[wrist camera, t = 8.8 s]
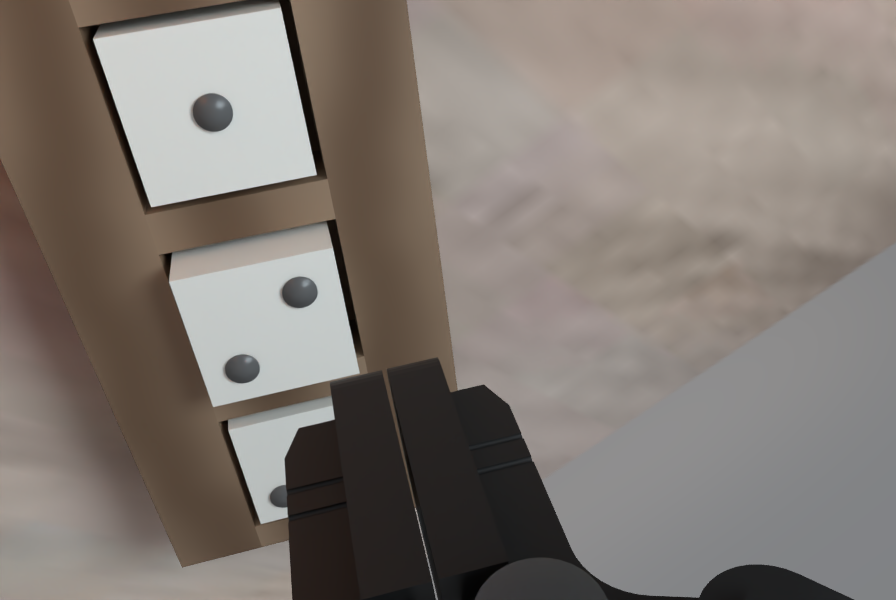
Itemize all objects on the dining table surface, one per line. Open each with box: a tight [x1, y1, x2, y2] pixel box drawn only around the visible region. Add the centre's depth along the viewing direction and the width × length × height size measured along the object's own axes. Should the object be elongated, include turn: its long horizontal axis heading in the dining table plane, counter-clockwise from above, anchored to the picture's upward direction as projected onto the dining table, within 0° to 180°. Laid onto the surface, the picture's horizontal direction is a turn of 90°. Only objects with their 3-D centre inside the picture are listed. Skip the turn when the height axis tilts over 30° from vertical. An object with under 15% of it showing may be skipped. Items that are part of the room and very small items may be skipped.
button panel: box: [0, 0, 458, 567], centre depth 29 cm, size 12×22×4 cm, turn 7°
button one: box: [93, 0, 317, 207], centre depth 24 cm, size 5×5×3 cm
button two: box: [169, 221, 360, 407], centre depth 27 cm, size 5×5×3 cm
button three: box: [228, 396, 335, 524], centre depth 32 cm, size 5×5×3 cm
